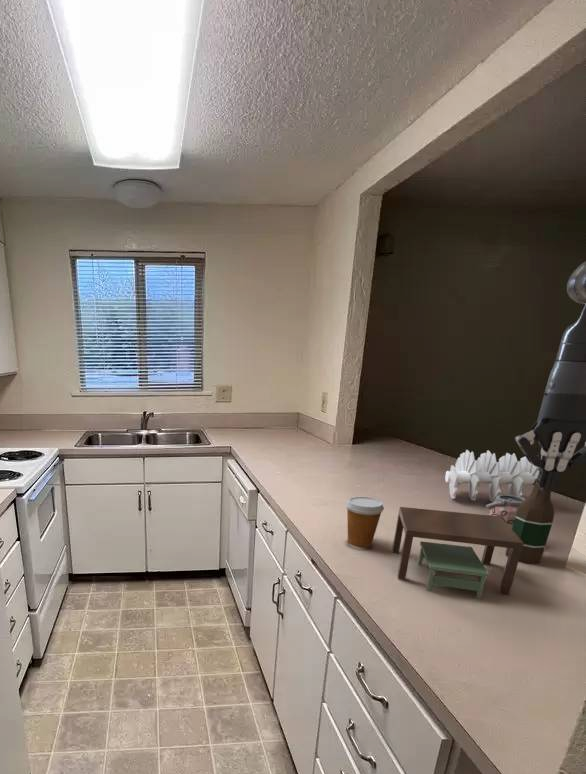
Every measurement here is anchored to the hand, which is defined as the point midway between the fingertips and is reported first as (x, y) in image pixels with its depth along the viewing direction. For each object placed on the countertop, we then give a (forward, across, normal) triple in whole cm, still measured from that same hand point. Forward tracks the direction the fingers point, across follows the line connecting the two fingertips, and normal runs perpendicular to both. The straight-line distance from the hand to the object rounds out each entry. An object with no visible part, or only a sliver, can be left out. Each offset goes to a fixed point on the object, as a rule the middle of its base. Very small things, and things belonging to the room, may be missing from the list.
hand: (545, 489), depth 77 cm
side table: (+27, +8, -18) cm, 33 cm away
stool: (+27, +8, -13) cm, 31 cm away
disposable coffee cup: (+27, +27, -29) cm, 48 cm away
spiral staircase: (+27, -14, -78) cm, 84 cm away
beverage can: (+27, -10, -44) cm, 53 cm away
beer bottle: (+27, -12, -32) cm, 44 cm away
